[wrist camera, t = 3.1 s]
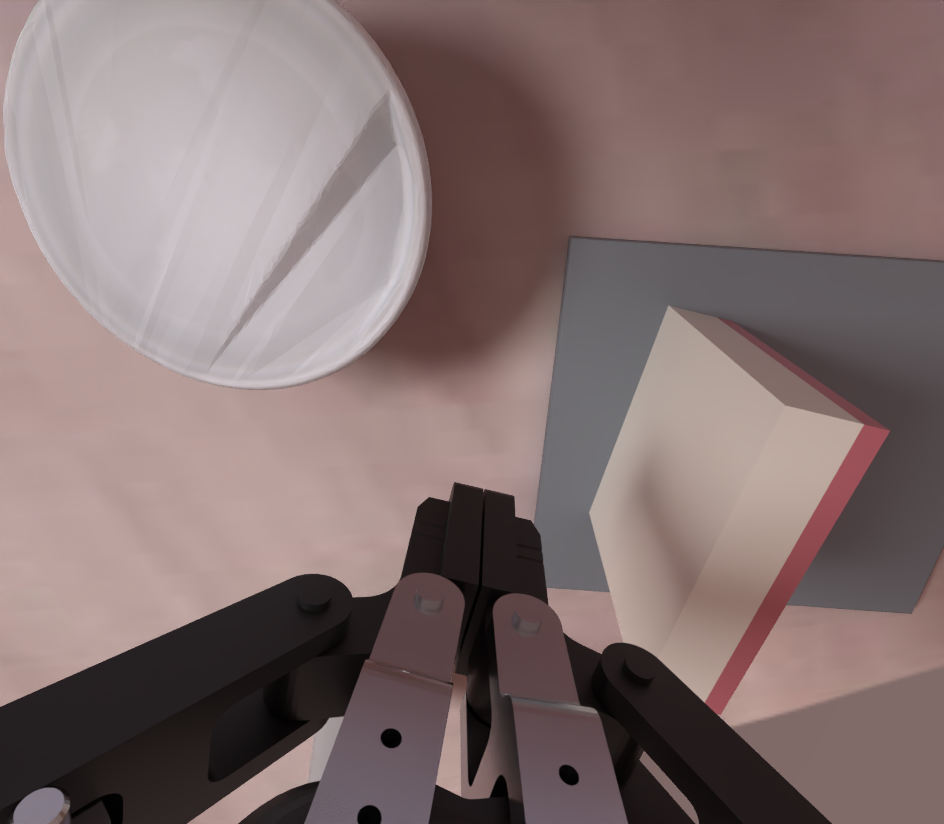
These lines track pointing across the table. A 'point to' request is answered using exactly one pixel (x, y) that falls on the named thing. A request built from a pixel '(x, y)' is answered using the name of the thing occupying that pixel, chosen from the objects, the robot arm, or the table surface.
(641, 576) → the tile
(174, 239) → the ramekin
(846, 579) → the slate mat
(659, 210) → the table surface
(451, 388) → the table surface
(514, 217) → the table surface
